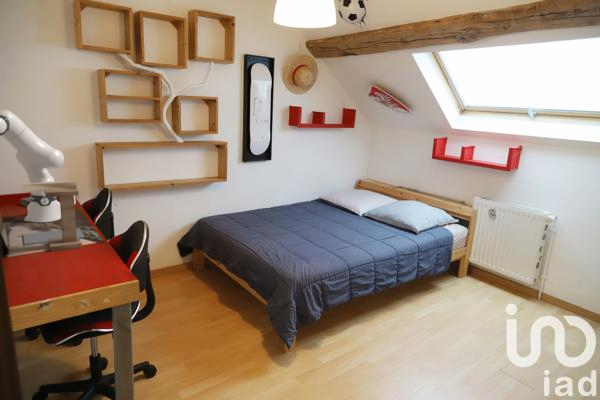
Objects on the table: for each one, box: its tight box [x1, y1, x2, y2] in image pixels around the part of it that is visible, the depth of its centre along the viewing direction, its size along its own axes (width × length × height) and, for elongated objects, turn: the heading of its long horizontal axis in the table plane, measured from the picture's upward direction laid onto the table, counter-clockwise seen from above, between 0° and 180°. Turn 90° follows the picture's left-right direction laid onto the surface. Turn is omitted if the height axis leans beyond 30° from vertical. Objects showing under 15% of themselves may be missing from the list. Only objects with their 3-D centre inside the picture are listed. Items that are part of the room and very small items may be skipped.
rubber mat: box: [22, 227, 85, 246], centre depth 196 cm, size 16×24×1 cm, turn 125°
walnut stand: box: [44, 189, 83, 252], centre depth 183 cm, size 12×12×26 cm
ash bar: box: [21, 180, 78, 193], centre depth 177 cm, size 3×20×3 cm, turn 125°
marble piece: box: [19, 196, 31, 208], centre depth 248 cm, size 17×15×4 cm
